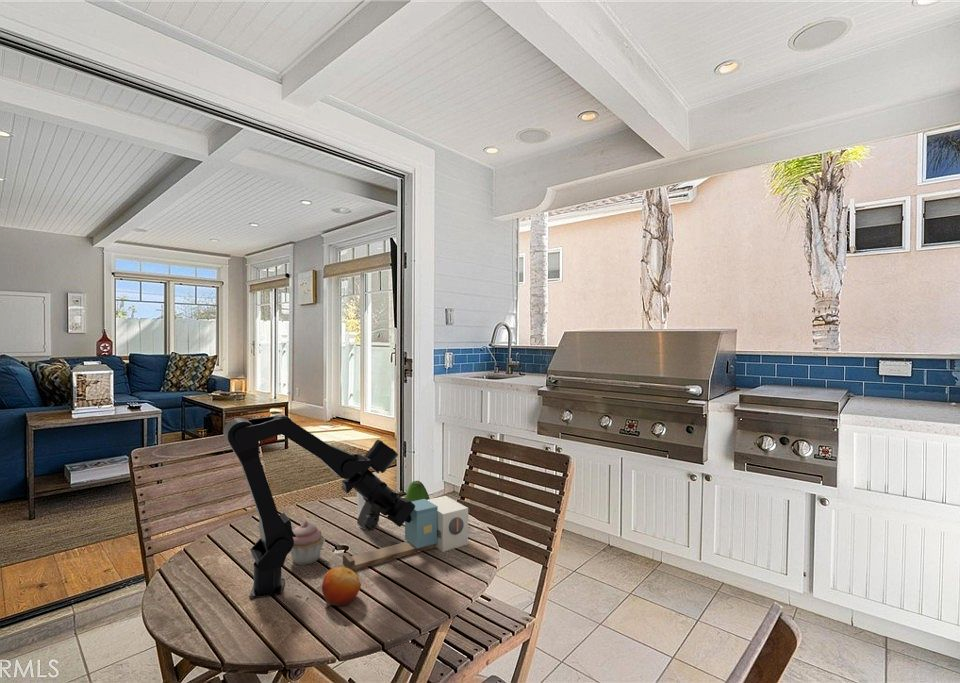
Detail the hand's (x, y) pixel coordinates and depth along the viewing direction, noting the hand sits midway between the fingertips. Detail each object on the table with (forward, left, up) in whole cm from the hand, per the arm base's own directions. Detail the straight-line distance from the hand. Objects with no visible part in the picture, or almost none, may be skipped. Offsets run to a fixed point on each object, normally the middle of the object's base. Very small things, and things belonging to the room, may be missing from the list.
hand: (409, 521), depth 127 cm
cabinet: (+4, -10, -8) cm, 13 cm away
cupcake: (+1, +26, -8) cm, 27 cm away
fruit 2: (+21, -5, -8) cm, 23 cm away
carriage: (+1, -3, -6) cm, 7 cm away
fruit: (-21, +17, -8) cm, 28 cm away
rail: (-2, +5, -8) cm, 9 cm away
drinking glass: (+19, +10, -8) cm, 23 cm away
